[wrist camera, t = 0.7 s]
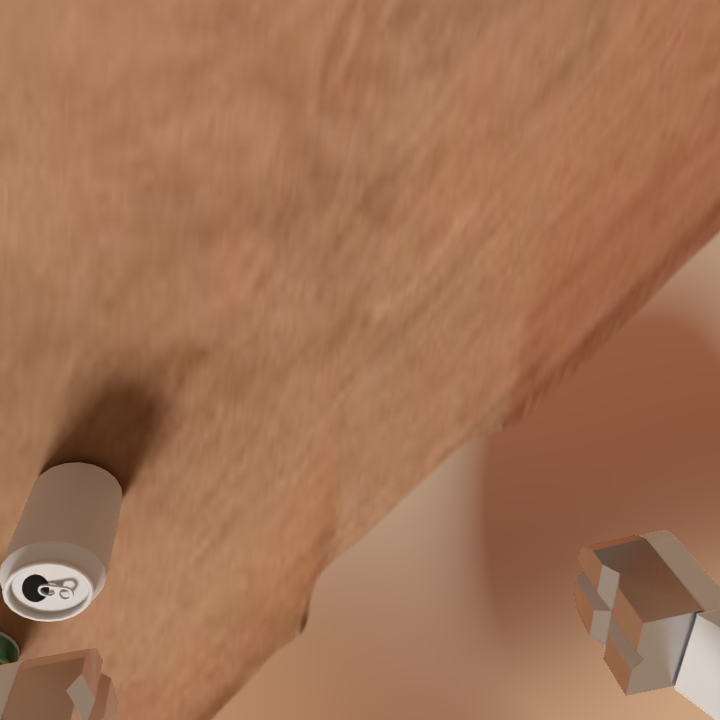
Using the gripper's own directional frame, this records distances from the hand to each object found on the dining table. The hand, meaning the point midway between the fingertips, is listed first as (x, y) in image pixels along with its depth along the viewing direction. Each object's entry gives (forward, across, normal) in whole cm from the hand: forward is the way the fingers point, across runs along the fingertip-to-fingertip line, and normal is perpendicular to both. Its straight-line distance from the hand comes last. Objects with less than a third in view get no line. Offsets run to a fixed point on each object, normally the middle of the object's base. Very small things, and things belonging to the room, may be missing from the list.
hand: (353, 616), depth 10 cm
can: (+40, -20, -26) cm, 52 cm away
